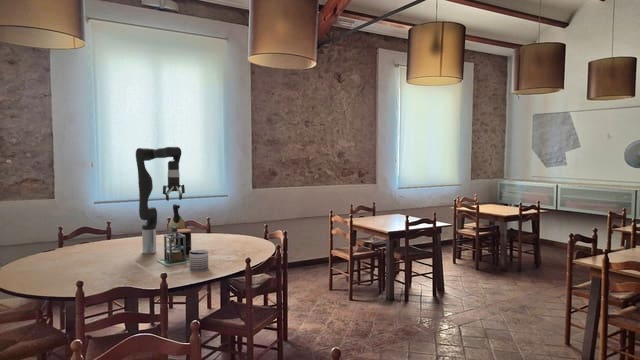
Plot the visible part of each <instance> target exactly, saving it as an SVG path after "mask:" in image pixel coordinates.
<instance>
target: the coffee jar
mask: <svg viewBox="0 0 640 360" xmlns="http://www.w3.org/2000/svg"><path fill="white" fill-rule="evenodd" d="M191 231H192V229H190V228H187V229H178V231H176V234H178V233H180V234H182V235H185V236H186V257H187V256H190V254H189V253H190V252H189V251H191V250H192V232H191ZM177 236H178V235H177ZM177 236H176V237H177ZM176 245H178V238H176ZM180 245H181V246H183V238H180ZM176 248H178V247H176ZM180 248H181V247H180ZM180 251H181V252H183V249H182V250H180Z"/></svg>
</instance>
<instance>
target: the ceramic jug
mask: <svg viewBox="0 0 640 360" xmlns="http://www.w3.org/2000/svg"><path fill="white" fill-rule="evenodd" d="M180 208H181V206H180V204H176V203H174V204H172V209H173V211H172V212H173V216H172V217H171V219H170V221H169V223H168V226H167V235H170V234H174V232H172V227H178V229H188V227H187V224H186V222H185V220H184V219H183V218H182V217H181V215H180V214H179V210H180ZM169 237H174V236H169ZM172 241H173V242H174V239H172Z"/></svg>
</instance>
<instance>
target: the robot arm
mask: <svg viewBox="0 0 640 360" xmlns="http://www.w3.org/2000/svg"><path fill="white" fill-rule="evenodd" d="M181 156H182V149H181V148H180V147H179V146H165V147H158V148H155V149H154V148H150V147H138V148H136V150H135V160H136V161H135V162H136V166H137V179H138V183H137V184H138V193H139V194H138V196H139V203H138V214H139V218H140V220H142V221H146V222H144V223H143V224H142V225H141V234H142V237H141V238H142V240H141V241H142V244H141V245H142V254H145V255H147V254H148V255H150V254H155V253H157V225H158V211H157V210H158V209H156V207H155V206H153V205H151V206H150V205H149V204H148V203H149V198H150V197H151V194H152V191H153V189H154V188H153V178H152V175H151V174H150V173H149V171H148V169H147V168H146V165H145V162H146V161H152V160H154V159H165V158H172V160H169V161H168V162H167V185H163V186H162V194H163V195H165V200H166V201H168V202H169V200H170V196H169V194H170V193H171V192H177V193H178V200H180V201H181V200H182V199H183V194H185V193H186V191H185V190H186V189H185V184H183V183H182V184H180V182H181V181H180V176H181V175H180V160H181ZM180 189H181V190H180Z"/></svg>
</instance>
